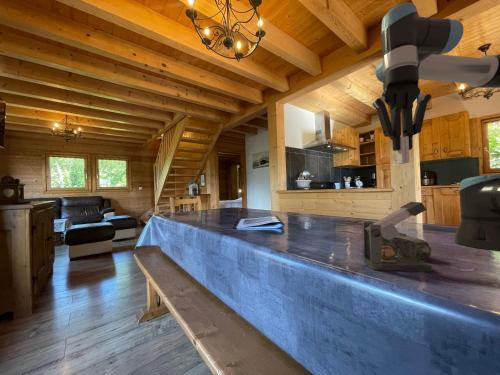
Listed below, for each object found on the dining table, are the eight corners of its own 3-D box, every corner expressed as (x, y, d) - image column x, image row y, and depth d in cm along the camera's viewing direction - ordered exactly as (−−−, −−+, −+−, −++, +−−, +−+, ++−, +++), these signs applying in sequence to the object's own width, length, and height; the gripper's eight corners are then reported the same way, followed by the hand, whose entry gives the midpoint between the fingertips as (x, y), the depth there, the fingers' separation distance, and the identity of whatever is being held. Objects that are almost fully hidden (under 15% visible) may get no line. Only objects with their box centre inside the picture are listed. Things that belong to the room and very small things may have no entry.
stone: (427, 269, 64) (442, 242, 60) (414, 278, 61) (429, 251, 56) (382, 240, 75) (392, 216, 70) (369, 247, 72) (378, 222, 67)
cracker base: (416, 262, 58) (414, 221, 58) (432, 272, 52) (430, 225, 52) (363, 261, 60) (361, 221, 60) (372, 270, 54) (371, 225, 54)
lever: (420, 216, 57) (410, 201, 58) (432, 218, 53) (421, 202, 53) (372, 242, 59) (363, 227, 59) (380, 246, 54) (369, 230, 55)
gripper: (419, 76, 59) (422, 163, 58) (366, 81, 61) (369, 165, 60) (438, 60, 51) (442, 160, 51) (378, 66, 53) (381, 162, 53)
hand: (402, 163), depth 56 cm, fingers closed
